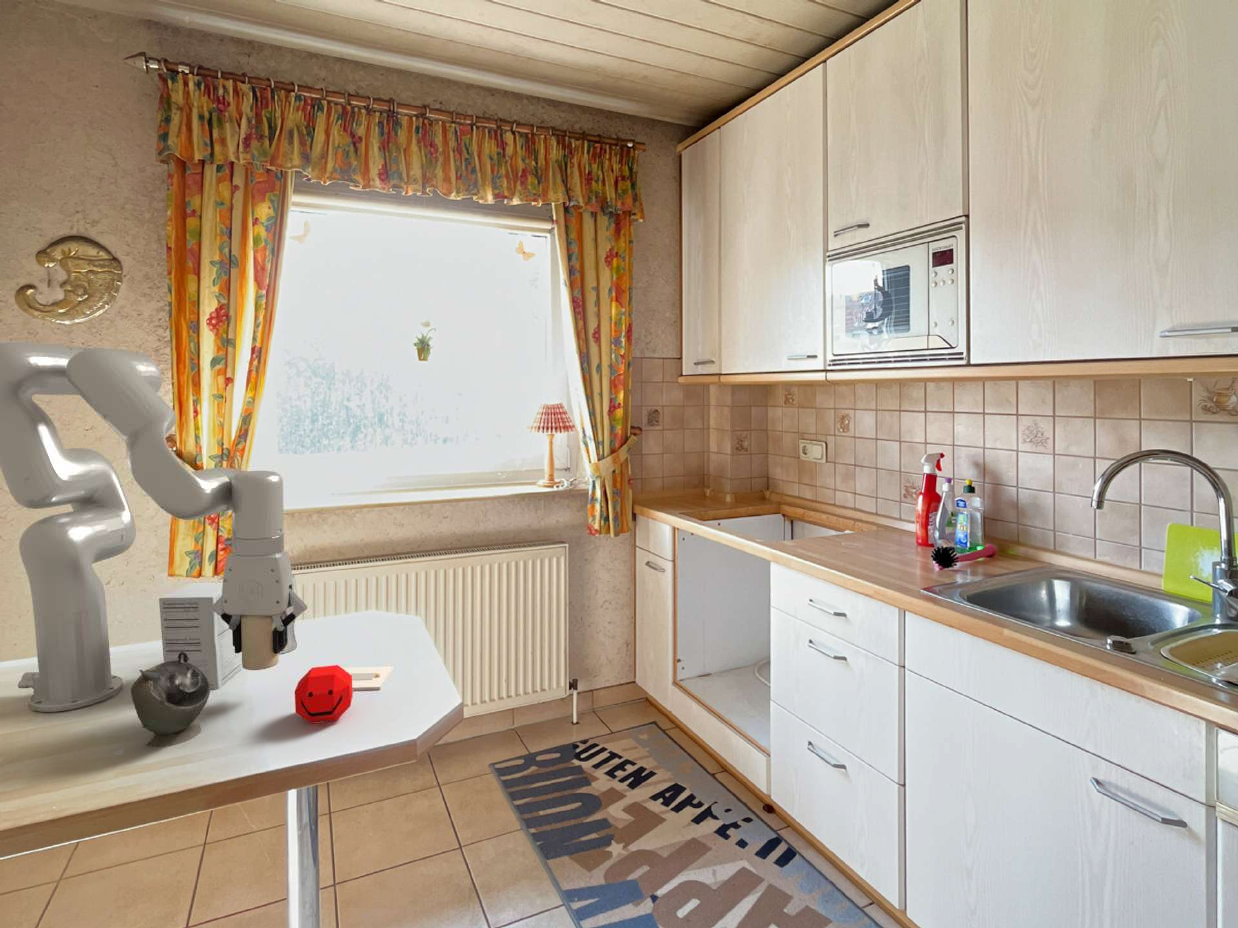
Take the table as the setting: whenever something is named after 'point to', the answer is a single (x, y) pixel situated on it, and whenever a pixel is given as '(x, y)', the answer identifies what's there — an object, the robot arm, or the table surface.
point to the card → (369, 677)
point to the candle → (258, 642)
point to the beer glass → (290, 628)
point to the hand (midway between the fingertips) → (260, 649)
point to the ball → (323, 694)
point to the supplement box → (199, 632)
